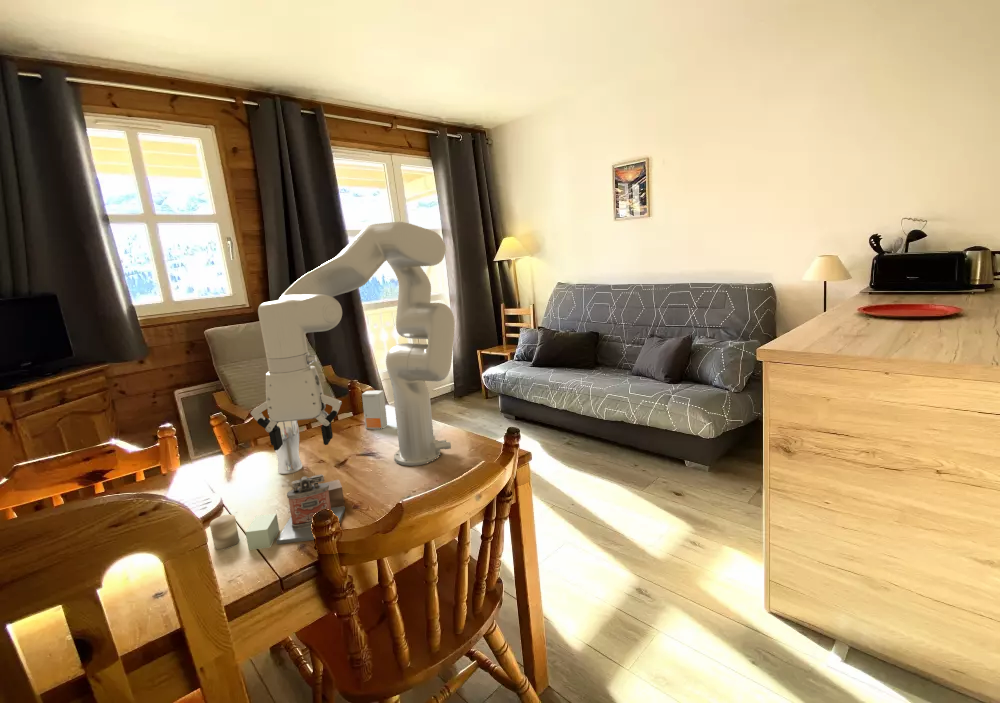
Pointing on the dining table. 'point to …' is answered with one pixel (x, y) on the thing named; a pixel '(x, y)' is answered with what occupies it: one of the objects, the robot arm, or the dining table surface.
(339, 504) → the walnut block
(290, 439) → the beer glass
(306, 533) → the coaster
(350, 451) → the dining table surface
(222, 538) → the beech cylinder
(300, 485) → the lighter
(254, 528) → the sage block
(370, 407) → the skincare box
